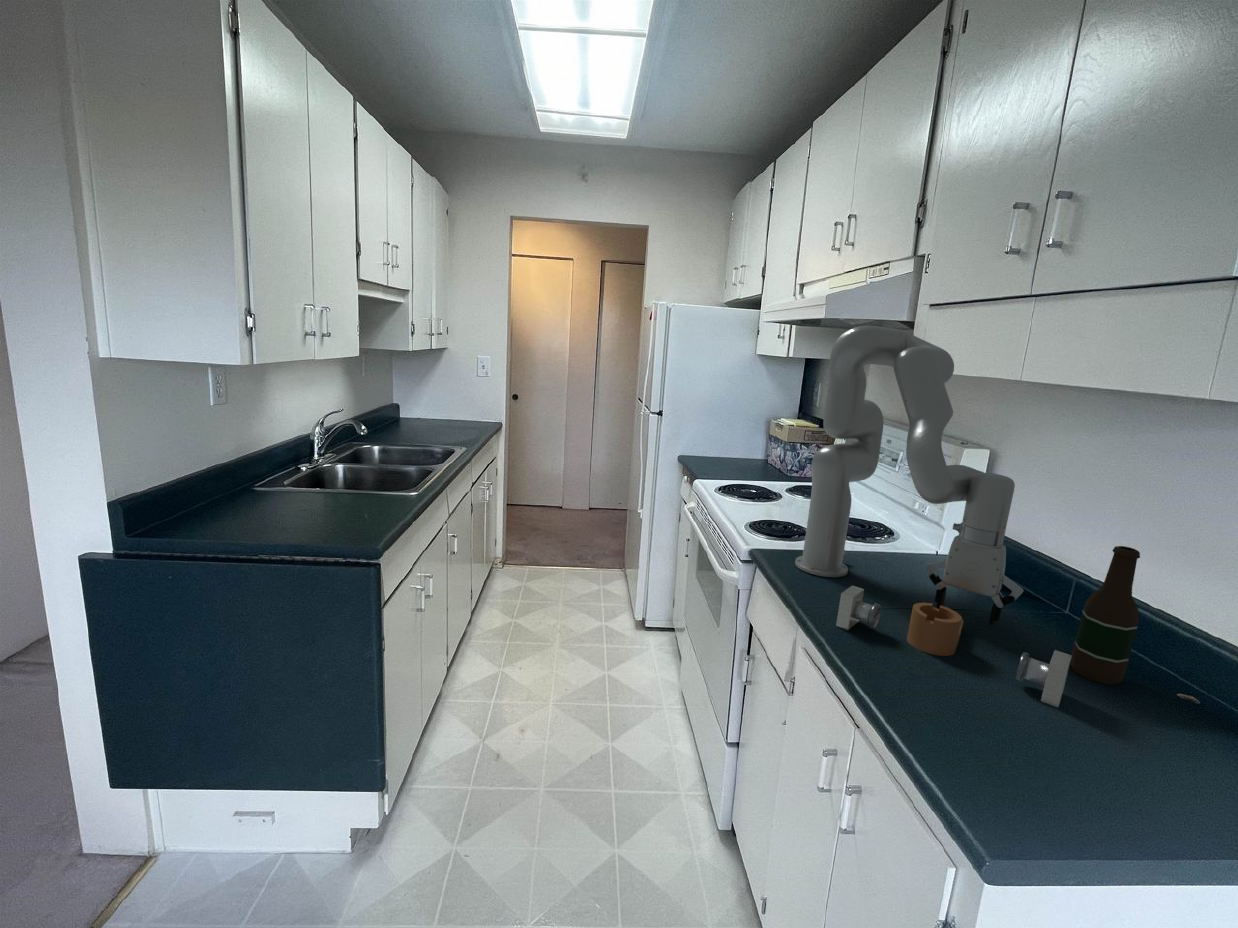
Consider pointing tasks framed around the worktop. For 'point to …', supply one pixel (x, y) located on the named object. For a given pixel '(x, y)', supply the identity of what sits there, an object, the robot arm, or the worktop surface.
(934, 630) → the bracket
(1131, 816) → the worktop surface
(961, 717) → the worktop surface
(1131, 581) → the beer bottle
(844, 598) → the grey metal fittings
